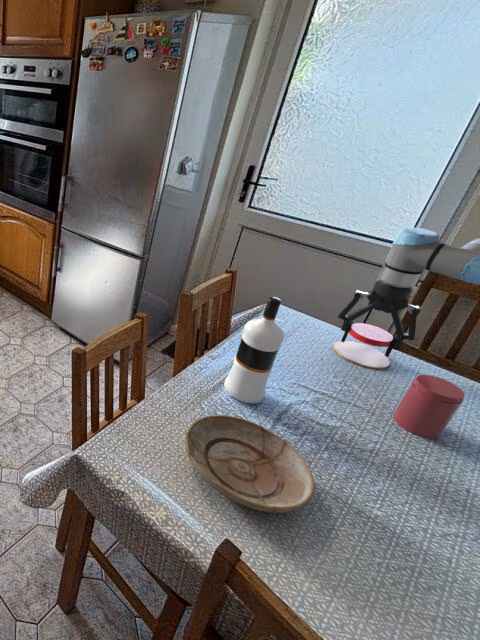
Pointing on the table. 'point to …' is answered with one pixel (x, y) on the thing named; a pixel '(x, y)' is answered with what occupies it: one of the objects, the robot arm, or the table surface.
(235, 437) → the ceramic bowl
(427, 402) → the jam jar
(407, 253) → the robot arm
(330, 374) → the table surface
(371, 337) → the lid
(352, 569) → the table surface
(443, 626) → the table surface
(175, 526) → the table surface
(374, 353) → the coaster
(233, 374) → the vodka
